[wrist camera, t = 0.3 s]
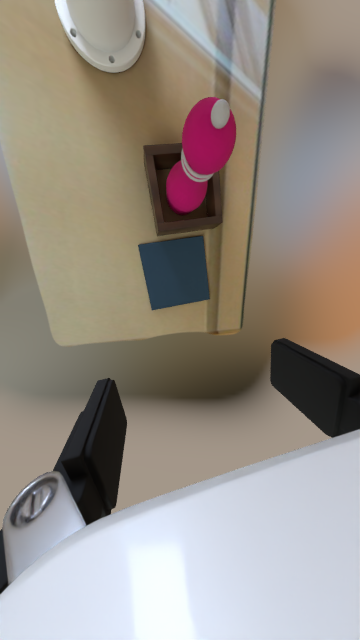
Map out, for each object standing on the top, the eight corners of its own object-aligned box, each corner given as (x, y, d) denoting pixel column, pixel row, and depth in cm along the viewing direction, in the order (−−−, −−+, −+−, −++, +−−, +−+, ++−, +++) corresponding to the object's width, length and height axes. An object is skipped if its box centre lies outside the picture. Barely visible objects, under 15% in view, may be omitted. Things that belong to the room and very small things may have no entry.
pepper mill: (175, 167, 32) (215, 22, 14) (205, 193, 35) (275, 98, 16) (157, 203, 34) (169, 113, 15) (187, 225, 36) (231, 173, 17)
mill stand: (143, 162, 31) (143, 145, 27) (208, 157, 33) (216, 140, 29) (157, 236, 35) (158, 231, 31) (214, 228, 37) (222, 222, 32)
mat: (138, 245, 35) (138, 244, 34) (202, 236, 37) (203, 235, 36) (151, 309, 39) (152, 310, 39) (209, 298, 41) (209, 299, 40)
